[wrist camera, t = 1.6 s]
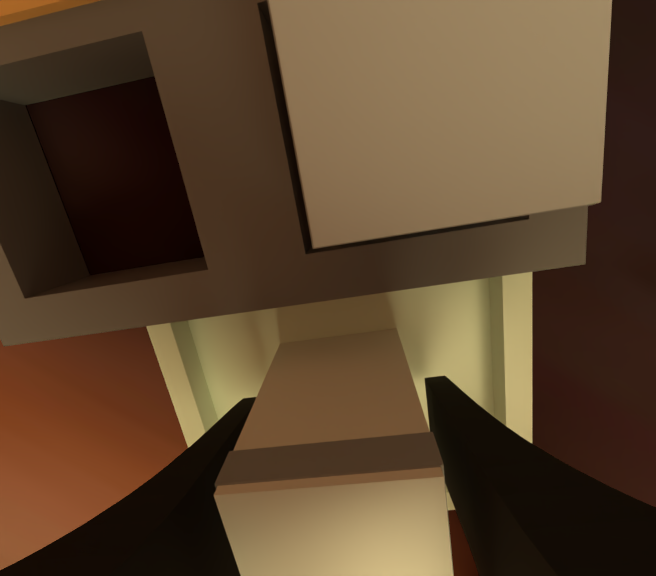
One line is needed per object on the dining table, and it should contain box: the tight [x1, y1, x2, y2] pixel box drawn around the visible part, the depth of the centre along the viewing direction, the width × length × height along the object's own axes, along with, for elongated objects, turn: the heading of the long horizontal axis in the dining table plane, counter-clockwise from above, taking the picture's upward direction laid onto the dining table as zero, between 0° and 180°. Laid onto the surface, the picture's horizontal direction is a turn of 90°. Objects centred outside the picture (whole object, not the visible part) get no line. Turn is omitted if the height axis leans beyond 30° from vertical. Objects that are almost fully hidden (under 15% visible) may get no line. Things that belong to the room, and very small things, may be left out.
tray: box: [146, 272, 532, 510], centre depth 12 cm, size 12×10×1 cm
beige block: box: [267, 0, 612, 249], centre depth 7 cm, size 4×4×6 cm
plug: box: [214, 328, 454, 576], centre depth 9 cm, size 4×4×6 cm
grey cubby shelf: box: [0, 0, 588, 346], centre depth 9 cm, size 16×8×3 cm, turn 100°
